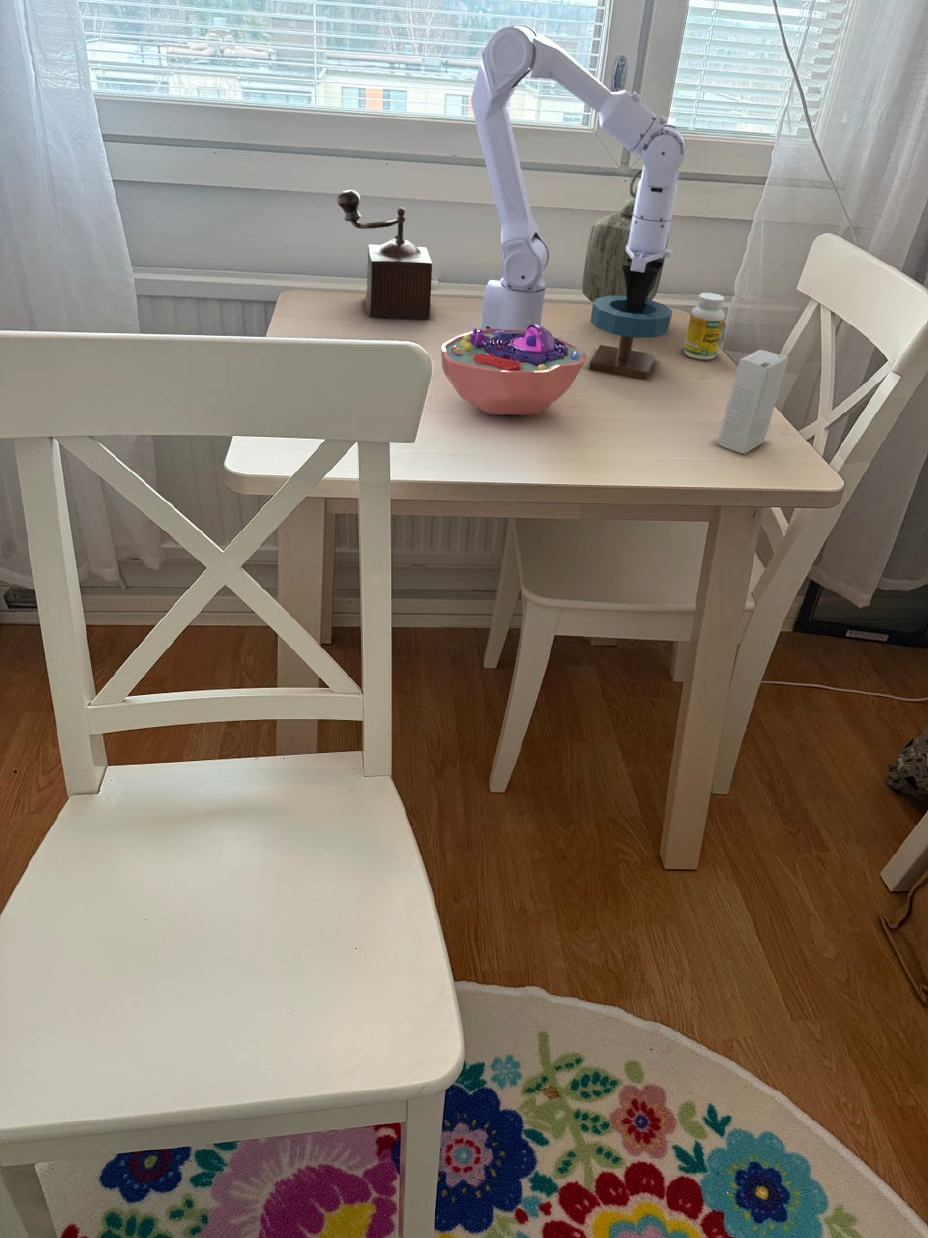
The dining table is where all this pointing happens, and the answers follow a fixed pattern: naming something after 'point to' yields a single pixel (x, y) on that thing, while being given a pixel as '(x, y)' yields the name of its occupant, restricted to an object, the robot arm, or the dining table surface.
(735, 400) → the cosmetic box
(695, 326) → the supplement bottle
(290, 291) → the dining table surface
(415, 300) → the manual coffee grinder
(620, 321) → the ring
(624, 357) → the peg stand
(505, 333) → the cell model
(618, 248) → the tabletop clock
